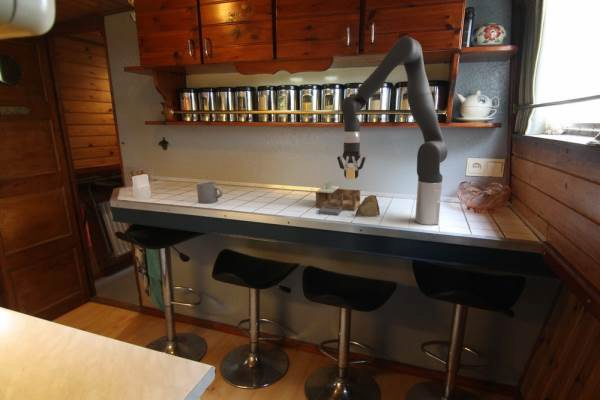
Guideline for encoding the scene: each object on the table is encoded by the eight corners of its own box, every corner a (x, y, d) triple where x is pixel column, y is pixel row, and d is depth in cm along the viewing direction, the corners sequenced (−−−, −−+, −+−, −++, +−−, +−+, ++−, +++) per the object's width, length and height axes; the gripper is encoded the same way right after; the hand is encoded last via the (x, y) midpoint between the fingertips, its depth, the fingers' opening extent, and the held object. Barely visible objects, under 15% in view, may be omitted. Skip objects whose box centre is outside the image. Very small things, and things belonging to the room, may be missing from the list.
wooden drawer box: (360, 204, 171) (360, 190, 170) (354, 211, 160) (355, 195, 158) (323, 201, 178) (323, 187, 177) (315, 207, 167) (315, 192, 165)
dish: (342, 210, 162) (342, 207, 161) (337, 215, 153) (337, 212, 153) (324, 208, 165) (324, 205, 165) (318, 213, 157) (318, 210, 156)
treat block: (356, 177, 165) (356, 167, 164) (354, 179, 161) (354, 168, 160) (348, 177, 166) (348, 167, 165) (346, 178, 163) (346, 168, 161)
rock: (351, 212, 150) (373, 212, 145) (353, 194, 153) (375, 194, 148) (359, 221, 158) (380, 221, 153) (361, 204, 161) (382, 204, 156)
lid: (338, 187, 174) (338, 180, 173) (331, 193, 162) (331, 185, 162) (325, 187, 176) (325, 179, 175) (317, 192, 165) (317, 184, 164)
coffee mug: (194, 202, 179) (192, 183, 177) (207, 198, 188) (205, 180, 185) (214, 205, 173) (212, 185, 171) (226, 200, 182) (225, 182, 180)
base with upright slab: (142, 194, 199) (139, 173, 197) (154, 195, 196) (152, 174, 193) (130, 197, 191) (127, 176, 188) (142, 198, 188) (140, 177, 185)
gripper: (368, 141, 160) (367, 177, 164) (339, 140, 166) (338, 176, 170) (365, 142, 154) (364, 179, 158) (334, 141, 159) (334, 178, 163)
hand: (351, 177), depth 164 cm, fingers closed on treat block, 4 cm apart
